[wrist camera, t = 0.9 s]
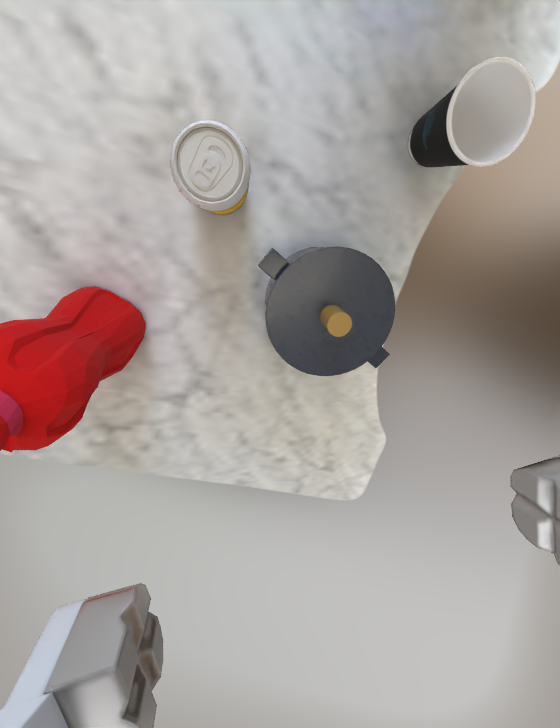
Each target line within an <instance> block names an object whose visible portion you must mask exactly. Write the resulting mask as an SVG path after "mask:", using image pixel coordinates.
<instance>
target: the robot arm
mask: <svg viewBox="0 0 560 728" xmlns="http://www.w3.org/2000/svg"><path fill="white" fill-rule="evenodd" d="M511 487H512V489H513V490H514V491H515V492H516V493H517V494H516V496H515V498H514V500H513V502H512V504H511V507H512V517H513V519H514V521H515V523H516V525H517V527H518V529H519V531H520V532H521V533H522V534H523V535H524V536H525V538H526V539H527V540H529V541H530V542H531V543H532V544H533V545H535V546H536V547H537V548H540V549H543V550H545V551H548V552H551V553H554V555H555V558H556V560H557V563H558V564H559V565H560V455H558V456H555V457H553V458H551V459H548V460H544V461H541V462H538V463H535V464H531V465H528V466H525V467H522V468H518V469H515V470H513V472H512V475H511ZM150 600H151V598H150V595H149V593H148V590H147V588H146V585H144V584H142V583H140V584H136V585H133V586H129V587H125V588H122V589H118V590H115V591H111V592H107V593H103V594H100V595H96V596H93V597H89V598H88V599H84V600H80V601H77V602H73V603H70V604H66V605H62V606H60V607H59V608H58V609H57V610H55V611H54V612H53V614H52V615H51V617H50V619H49V621H48V623H47V625H46V627H45V629H44V631H43V633H42V635H41V637H40V638H39V641H38V642H37V644H36V646H35V648H34V650H33V652H32V654H31V656H30V658H29V660H28V662H27V664H26V666H25V668H24V669H23V671H22V673H21V675H20V677H19V679H18V681H17V683H16V685H15V687H14V689H13V691H12V693H11V695H10V696H9V698H8V700H7V703H6V704H5V706H4V708H3V709H0V728H153V727H154V720H155V714H156V707H157V705H156V702H155V699H154V697H153V694H152V690H153V688H154V686H155V685H156V683H157V682H158V680H159V679H160V677H161V672H162V664H163V638H162V632H161V627H160V624H159V620H158V617H157V616H155V615H153V614H152V613H150V612H148V610H149V605H150Z"/></svg>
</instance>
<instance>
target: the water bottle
mask: <svg viewBox="0 0 560 728" xmlns="http://www.w3.org/2000/svg"><path fill="white" fill-rule="evenodd" d="M144 332H145V320H144V318H143V316H142V313H141V312H140V311H139V310H138V309H136V308H135V307H134V306H133V305H132V304H131V303H130V302H128V301H126V300H124V299H122V298H120V297H119V296H117V295H115V294H114V293H112V292H110V291H107V290H103V289H100V288H97V287H85V288H81V289H78V290H76V291H74V292H72V293H70V294H69V295H67V296H65V297H63V298H62V299H61V300H60V302H59V303H58V304H57V305H56V306H55V308H54V309H53V310H52V311H51V312H50V314H49V315H48V316H47V317H46V318H44V319H28V320H13V321H9V322H5V323H1V324H0V451H1V450H2V449H3V450H6V451H9V452H12V451H13V450H37V449H40V448H43V447H47V446H49V445H50V444H52V443H53V442H55V441H56V440H57V439H59V438H60V437H62V436H63V435H65V434H66V433H67V432H69V431H70V430H72V429H73V428H74V427H75V425H76V424H77V423H78V422H79V421H80V420H81V419H82V417H83V414H84V411H85V409H86V406H87V404H88V401H89V399H90V397H91V395H92V394H93V392H94V391H95V389H96V388H97V387H98V384H99V381H101V380H103V379H105V378H107V377H109V376H111V375H113V374H115V373H117V372H119V371H121V370H122V369H123V368H124V367H125V366H126V365H127V363H128V362H129V361H130V359H131V358H132V357H133V355H134V353H135V351H136V350H137V348H138V346H139V344H140V343H141V341H142V339H143V337H144Z"/></svg>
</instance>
